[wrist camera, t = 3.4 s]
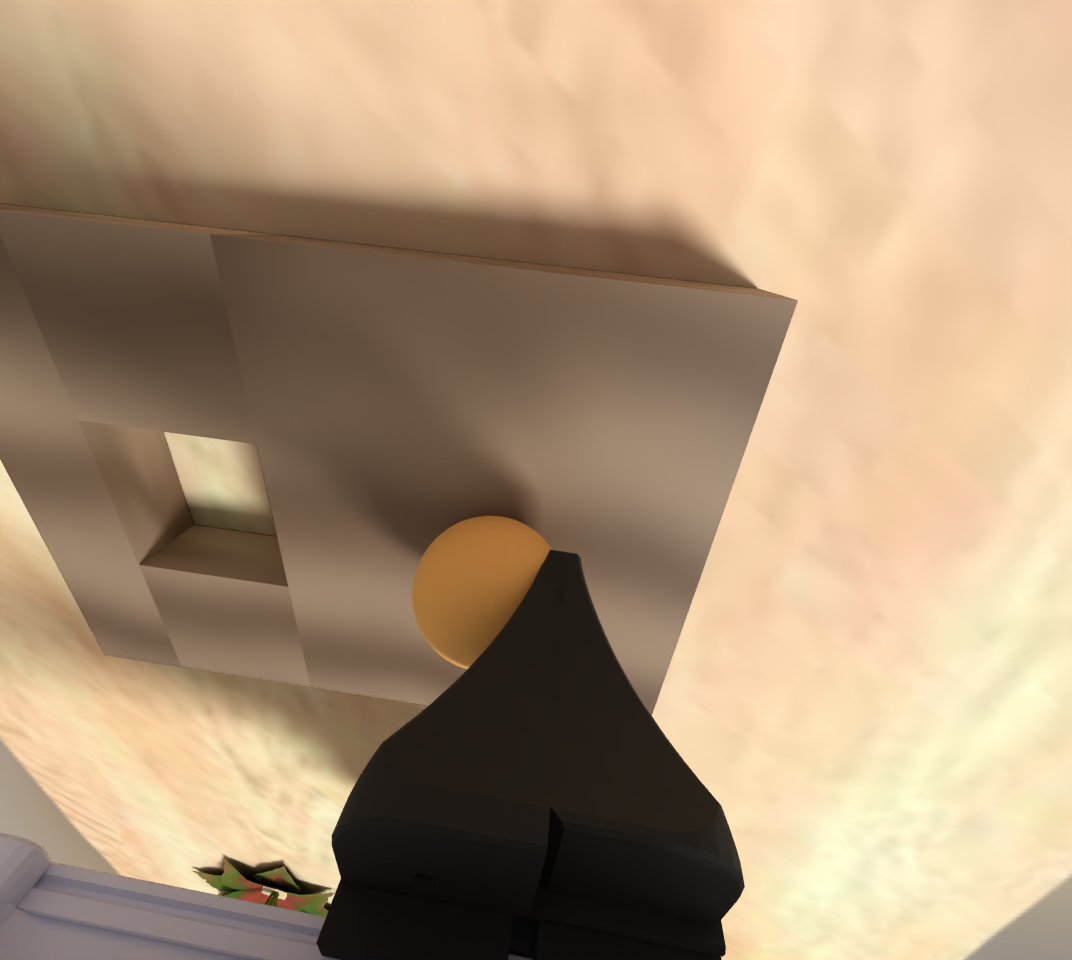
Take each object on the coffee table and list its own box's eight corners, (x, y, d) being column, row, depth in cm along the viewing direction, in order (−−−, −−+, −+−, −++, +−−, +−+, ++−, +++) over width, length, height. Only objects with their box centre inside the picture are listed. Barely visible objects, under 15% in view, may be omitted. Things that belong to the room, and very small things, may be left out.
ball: (578, 648, 13) (489, 739, 10) (477, 589, 15) (377, 650, 12) (604, 529, 12) (510, 593, 9) (489, 480, 14) (379, 518, 11)
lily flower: (380, 917, 36) (354, 1002, 32) (265, 920, 40) (228, 997, 36) (294, 842, 32) (251, 930, 28) (171, 851, 35) (115, 932, 31)
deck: (636, 683, 20) (643, 739, 17) (155, 610, 21) (104, 654, 18) (759, 289, 12) (797, 300, 10) (-18, 201, 13) (-141, 194, 11)
